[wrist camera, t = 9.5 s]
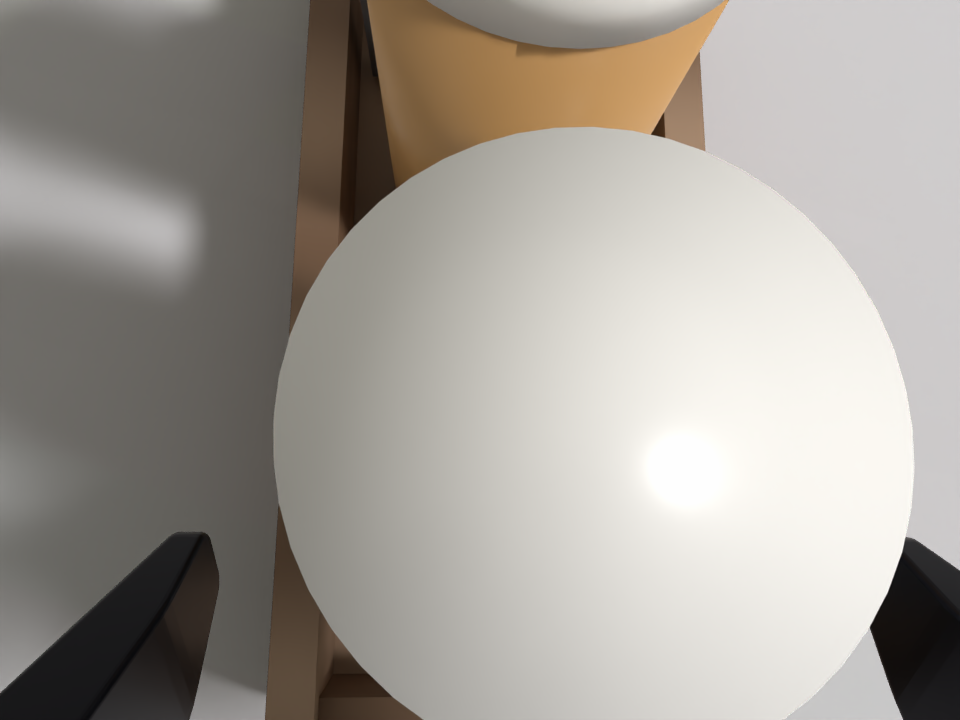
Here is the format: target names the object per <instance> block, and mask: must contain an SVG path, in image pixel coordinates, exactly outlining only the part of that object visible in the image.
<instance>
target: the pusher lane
mask: <svg viewBox="0 0 960 720" xmlns="http://www.w3.org/2000/svg"><path fill="white" fill-rule="evenodd" d="M651 135H654V136H659V137H663V138H668V139H671V140H674V141H677V142H680V143H683V144H685V145H688V146H691V147H694V148H697V149H700V150H703V151H705V138H704V121H703V104H702V86H701V69H700V52H699V53H698V54H697V56H696V58H695V60H694V61H693V63H692V65H691V66H690V68H689V70H688V72H687V73H686V75H685V77H684V78H683V80H682V82H681V84H680V85H679V87H678V89H677V90H676V92H675V94H674V96H673V97H672V99H671V101H670V103H669V104H668V106H667V108H666V109H665V111H664V113H663V115H662V116H661V118H660V120H659V121H658V123H657V125H656V127H655V128H654V130H653V132H652V133H651ZM395 189H396V187H395V181H394V174H393V167H392V161H391V154H390V148H389V141H388V135H387V128H386V122H385V115H384V109H383V102H382V95H381V89H380V82H379V77H373V74H372V68H371V62H370V56H369V50H368V44H367V38H366V32H365V26H364V20H363V14H362V8H361V2H360V0H310V12H309V28H308V44H307V60H306V76H305V91H304V107H303V123H302V139H301V155H300V171H299V187H298V203H297V219H296V235H295V251H294V267H293V283H292V299H291V314H290V330H289V337H290V333H291V331H292V329H293V326H294V324H295V322H296V319H297V317H298V314H299V312H300V310H301V307H302V305H303V303H304V300H305V298H306V296H307V294H308V292H309V290H310V289H311V287H312V285H313V284H314V282H315V280H316V279H317V277H318V275H319V273H320V272H321V270H322V268H323V267H324V265H325V263H326V261H327V260H328V259H329V257H330V256H331V255H332V254H333V252H334V251H335V250H336V248H337V247H338V246H339V245H340V243H341V242H342V241H343V239H344V238H345V237H346V236H347V234H348V233H349V232H350V230H351V229H352V228H353V227H354V226H355V225H356V224H357V223H358V222H359V221H360V220H361V219H362V218H363V217H364V216H365V215H366V214H367V213H368V212H369V211H370V210H371V209H372V208H373V207H375V206H376V205H377V204H378V203H379V202H380V201H381V200H382V199H384V198H385V197H386V196H387V195H389V194H390V193H391V192H393V191H394V190H395ZM265 720H423V719H422V718H420V717H419V716H418V715H416V714H415V713H414V712H412V711H411V710H409V709H408V708H407V707H405V706H404V705H403V704H401V703H400V702H398V701H397V700H396V699H394V698H393V697H392V696H391V695H390V694H389V693H388V692H387V691H386V690H385V689H384V688H383V687H382V686H381V685H380V684H379V683H378V682H377V681H376V680H375V679H374V678H373V677H371V676H370V675H369V674H368V673H367V672H366V671H365V670H364V669H363V668H362V667H361V666H360V665H359V663H358V662H357V661H356V660H355V658H354V657H353V656H352V655H351V653H350V652H349V651H348V649H347V648H346V647H345V646H344V644H343V643H342V642H341V641H340V639H339V638H338V637H337V635H336V634H335V633H334V632H333V630H332V629H331V627H330V626H329V624H328V622H327V620H326V619H325V617H324V615H323V614H322V612H321V610H320V609H319V607H318V605H317V604H316V602H315V600H314V598H313V597H312V595H311V593H310V592H309V590H308V588H307V585H306V583H305V580H304V578H303V576H302V573H301V571H300V569H299V566H298V564H297V561H296V559H295V557H294V554H293V552H292V550H291V547H290V543H289V539H288V536H287V532H286V528H285V525H284V521H283V517H282V513H281V510H280V506H278V522H277V537H276V553H275V569H274V585H273V601H272V617H271V633H270V649H269V665H268V681H267V697H266V713H265Z"/></svg>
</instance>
